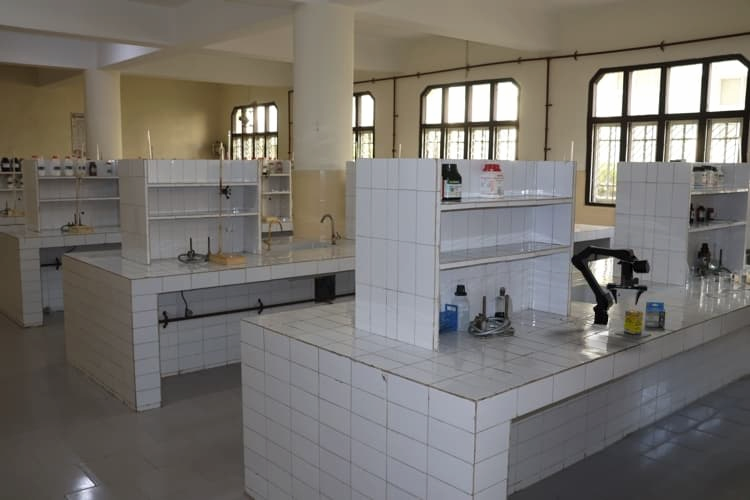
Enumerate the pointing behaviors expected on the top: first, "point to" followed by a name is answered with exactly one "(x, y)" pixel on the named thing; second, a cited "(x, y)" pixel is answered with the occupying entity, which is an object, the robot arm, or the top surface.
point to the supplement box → (633, 322)
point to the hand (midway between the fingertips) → (626, 304)
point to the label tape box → (655, 315)
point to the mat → (633, 335)
